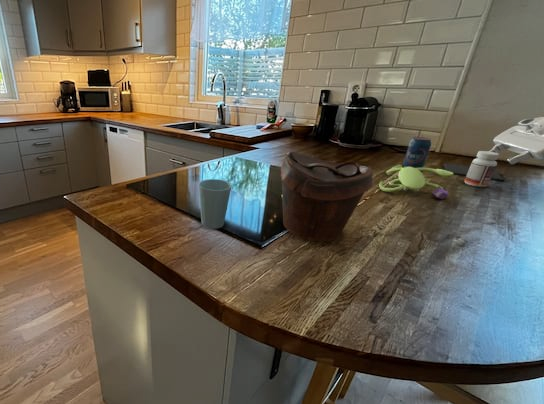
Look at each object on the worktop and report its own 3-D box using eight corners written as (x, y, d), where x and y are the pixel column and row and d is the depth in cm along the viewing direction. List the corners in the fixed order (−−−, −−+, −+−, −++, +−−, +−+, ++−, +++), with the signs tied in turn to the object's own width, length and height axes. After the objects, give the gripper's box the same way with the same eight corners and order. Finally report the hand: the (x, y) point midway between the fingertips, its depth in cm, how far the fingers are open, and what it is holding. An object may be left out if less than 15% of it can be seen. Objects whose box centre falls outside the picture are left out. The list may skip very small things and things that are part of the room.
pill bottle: (483, 183, 105) (497, 151, 100) (490, 188, 100) (504, 155, 95) (461, 180, 108) (474, 149, 103) (466, 185, 103) (479, 153, 98)
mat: (495, 172, 118) (495, 170, 118) (503, 181, 107) (504, 179, 107) (443, 165, 126) (444, 163, 126) (446, 173, 116) (447, 171, 116)
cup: (202, 232, 69) (204, 191, 65) (193, 218, 76) (194, 180, 72) (232, 229, 71) (236, 188, 67) (221, 215, 78) (224, 178, 74)
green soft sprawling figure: (448, 183, 105) (454, 167, 103) (449, 206, 86) (456, 188, 83) (387, 172, 115) (391, 158, 113) (375, 191, 96) (380, 174, 94)
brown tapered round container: (377, 245, 65) (402, 167, 58) (292, 252, 62) (308, 170, 55) (328, 211, 81) (343, 146, 74) (259, 215, 78) (267, 148, 71)
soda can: (402, 167, 121) (411, 138, 117) (402, 164, 127) (411, 135, 122) (423, 171, 118) (433, 140, 113) (422, 166, 123) (432, 138, 118)
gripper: (586, 145, 85) (528, 174, 90) (528, 132, 103) (483, 158, 109) (575, 128, 84) (517, 159, 90) (519, 118, 102) (474, 145, 108)
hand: (498, 158), depth 99 cm, fingers open, 8 cm apart
